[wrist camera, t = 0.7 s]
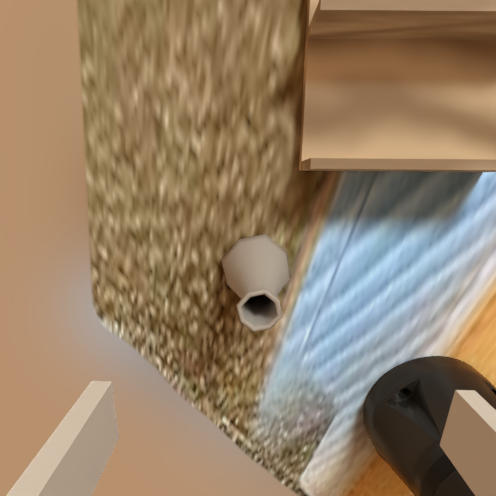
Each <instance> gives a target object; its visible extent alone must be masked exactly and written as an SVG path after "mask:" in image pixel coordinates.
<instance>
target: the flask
mask: <svg viewBox="0 0 496 496" xmlns="http://www.w3.org/2000/svg"><path fill="white" fill-rule="evenodd" d="M221 262H222V266H223V270H224V274H225V278H226V282H227V285H228V286H229V287H230V288H231V289H232V290H233V291H234V292H235V293H236V294H237V295H238V296H239V297H240V298H241V300H240V301H239V302H238V303H237V310H238V314H239V318H240V322H241V323H243V324H244V325H245V326H246V327H248V328H249V329H250V330H251V331H253V332H256V331H262V330H267V329H271V328H272V327H273V326H274V325H275V324H276V323H277V322H278V321H279V320H280V319H281V318H282V313H281V307H280V302H279V299H278V298H277V295H278V294H279V292H280V291H281V289H282V288H283V286H284V285H285V284H286V283H287V282H288V280H289V279H290V278H291V275H290V270H289V264H288V258H287V253H286V251H285V250H284V249H283V248H281V247H280V246H279V245H278V244H277V243H276V242H275V241H273V240H272V239H271V238H270V237H269V236H268V235H267V234H264V235H259V236H254V237H249V238H244V239H239V240H238V241H237V242H236V243H235V244H234V245H233V247H232V248H231V249H230V250H229V251H228V252H227V253H226V254H225V255H224V257H223V258H222V259H221Z"/></svg>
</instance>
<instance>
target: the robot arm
mask: <svg viewBox="0 0 496 496" xmlns="http://www.w3.org/2000/svg"><path fill="white" fill-rule="evenodd" d="M364 423H365V427H366V430H367V432H368V434H369V436H370V439H371V441H372V443H373V445H374V447H375V449H376V450H377V452H378V453H379V455H380V456H381V457H382V458H383V460H385V461H386V462H387V463H388V464H389V466H390V467H391V468H392V469H393V470H394V472H395V473H396V474H397V475H398V476H399V477H400V479H401V480H402V481H403V482H404V483H405V484H406V485H407V487H408V488H409V489H410V490H411V491H412V492H413V493H414V495H415V496H496V388H495V387H494V386H493V385H492V383H491V382H490V381H488V380H487V379H486V378H485V377H484V376H483V375H481V374H480V373H479V372H478V371H477V370H475V369H474V368H473V367H472V366H470V365H468V364H467V363H465V362H462V361H460V360H457V359H454V358H449V357H441V356H431V357H423V358H418V359H414V360H411V361H408V362H406V363H403V364H401V365H399V366H397V367H395V368H394V369H392V370H391V371H389V372H388V373H387V374H385V375H384V376H383V377H382V378H381V379H380V380H379V381H378V382H377V383H376V384H375V386H374V387H373V388H372V390H371V392H370V393H369V395H368V397H367V400H366V403H365V407H364ZM118 439H119V435H118V426H117V419H116V410H115V401H114V393H113V386H112V382H111V381H91V383H90V384H89V386H88V387H87V388H86V389H85V391H84V392H83V393H82V395H81V396H80V397H79V399H78V400H77V401H76V403H75V404H74V405H73V407H72V408H71V409H70V411H69V412H68V414H67V415H66V416H65V418H64V419H63V420H62V422H61V423H60V424H59V426H58V427H57V428H56V430H55V431H54V432H53V434H52V435H51V436H50V438H49V439H48V440H47V442H46V443H45V444H44V446H43V447H42V448H41V450H40V451H39V452H38V454H37V455H36V457H35V458H34V459H33V460H32V462H31V463H30V464H29V466H28V467H27V469H26V470H25V471H24V473H23V474H22V475H21V477H20V478H19V479H18V481H17V482H16V483H15V485H14V486H13V487H12V489H11V490H10V491H9V493H8V494H7V495H6V496H91V495H92V493H93V491H94V488H95V487H96V484H97V482H98V480H99V478H100V476H101V474H102V472H103V470H104V468H105V466H106V464H107V462H108V460H109V458H110V455H111V453H112V451H113V449H114V447H115V445H116V443H117V441H118Z"/></svg>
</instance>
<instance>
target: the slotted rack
mask: <svg viewBox="0 0 496 496" xmlns="http://www.w3.org/2000/svg"><path fill="white" fill-rule="evenodd" d="M299 171H396V172H496V0H308V2H307V21H306V40H305V59H304V78H303V98H302V117H301V136H300V155H299Z"/></svg>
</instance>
